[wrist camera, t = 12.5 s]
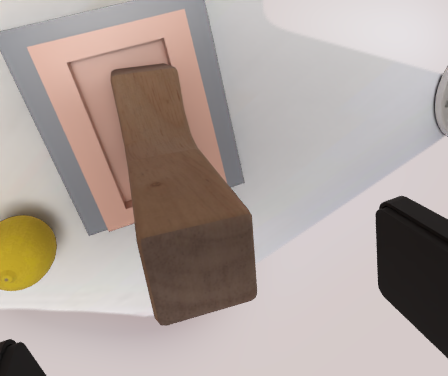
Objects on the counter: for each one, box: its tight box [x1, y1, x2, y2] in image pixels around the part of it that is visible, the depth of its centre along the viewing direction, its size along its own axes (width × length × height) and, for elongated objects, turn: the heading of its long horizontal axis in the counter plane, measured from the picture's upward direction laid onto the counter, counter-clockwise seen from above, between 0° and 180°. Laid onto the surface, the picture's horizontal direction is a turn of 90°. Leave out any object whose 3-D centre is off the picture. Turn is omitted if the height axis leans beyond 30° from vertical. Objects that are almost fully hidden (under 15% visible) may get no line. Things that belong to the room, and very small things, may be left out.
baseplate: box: [0, 0, 245, 236], centre depth 29 cm, size 16×18×5 cm
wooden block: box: [110, 63, 257, 325], centre depth 21 cm, size 9×4×18 cm, turn 6°
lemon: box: [0, 215, 57, 291], centre depth 29 cm, size 6×6×8 cm
